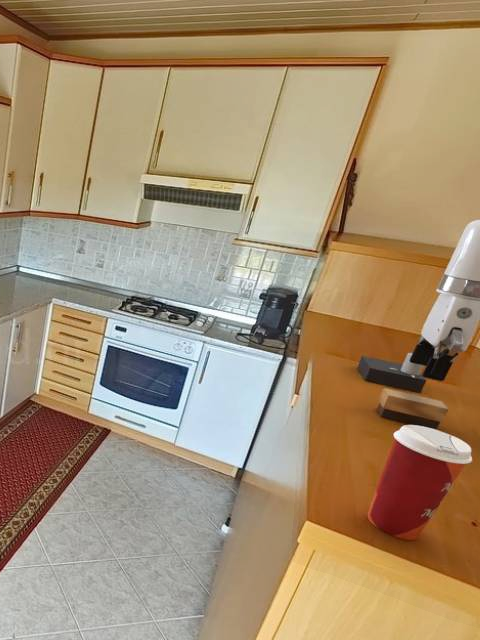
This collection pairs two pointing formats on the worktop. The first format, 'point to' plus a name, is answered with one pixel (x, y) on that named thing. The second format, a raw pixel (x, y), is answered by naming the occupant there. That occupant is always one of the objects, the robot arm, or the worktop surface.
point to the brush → (411, 409)
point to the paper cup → (416, 479)
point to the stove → (389, 374)
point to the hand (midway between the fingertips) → (425, 371)
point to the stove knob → (411, 366)
